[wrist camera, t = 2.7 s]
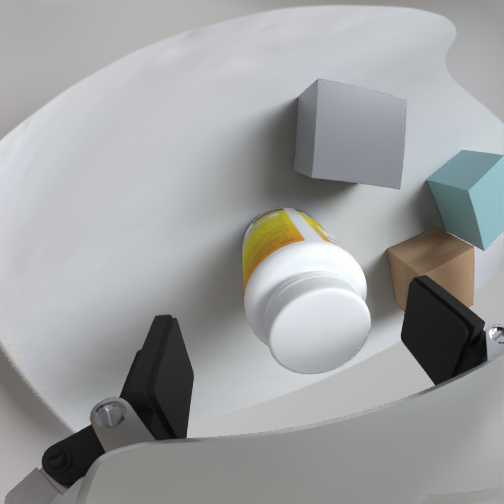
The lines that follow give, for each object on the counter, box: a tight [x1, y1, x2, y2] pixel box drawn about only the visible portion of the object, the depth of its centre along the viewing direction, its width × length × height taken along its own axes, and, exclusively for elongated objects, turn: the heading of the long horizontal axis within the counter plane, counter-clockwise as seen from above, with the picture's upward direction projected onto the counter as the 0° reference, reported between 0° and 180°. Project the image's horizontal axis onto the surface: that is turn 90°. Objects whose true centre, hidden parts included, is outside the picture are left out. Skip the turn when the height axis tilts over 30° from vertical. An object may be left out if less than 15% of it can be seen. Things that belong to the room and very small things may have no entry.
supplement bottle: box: [242, 208, 371, 374], centre depth 15 cm, size 6×6×10 cm
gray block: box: [293, 79, 406, 189], centre depth 15 cm, size 5×5×5 cm
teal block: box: [426, 150, 504, 251], centre depth 16 cm, size 5×5×5 cm
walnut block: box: [387, 227, 474, 312], centre depth 18 cm, size 5×5×5 cm
